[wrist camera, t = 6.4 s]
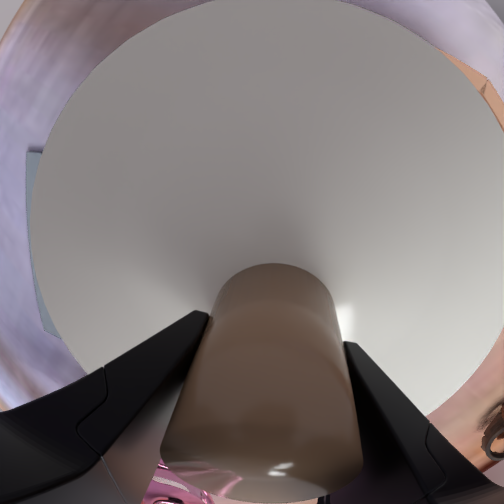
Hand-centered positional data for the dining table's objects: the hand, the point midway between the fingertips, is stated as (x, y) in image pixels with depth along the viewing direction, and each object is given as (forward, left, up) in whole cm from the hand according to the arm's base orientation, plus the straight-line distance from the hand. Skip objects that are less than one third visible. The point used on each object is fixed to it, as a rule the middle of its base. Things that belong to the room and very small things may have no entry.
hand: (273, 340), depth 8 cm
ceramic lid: (0, 0, -2) cm, 2 cm away
